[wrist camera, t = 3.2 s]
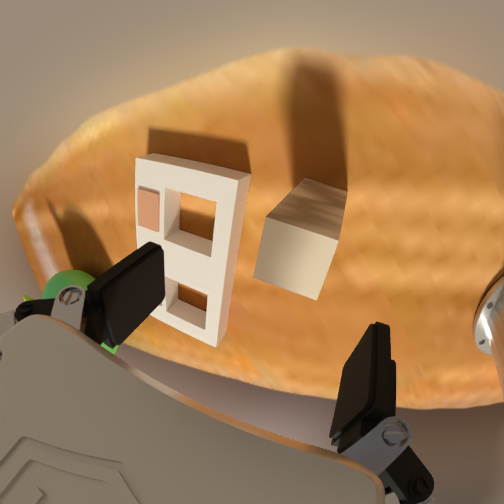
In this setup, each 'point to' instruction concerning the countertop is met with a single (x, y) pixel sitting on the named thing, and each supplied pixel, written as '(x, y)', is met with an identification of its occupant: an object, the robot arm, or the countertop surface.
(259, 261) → the maple peg
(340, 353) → the countertop surface
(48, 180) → the countertop surface
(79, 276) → the toy bird
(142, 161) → the socket block
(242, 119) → the countertop surface
